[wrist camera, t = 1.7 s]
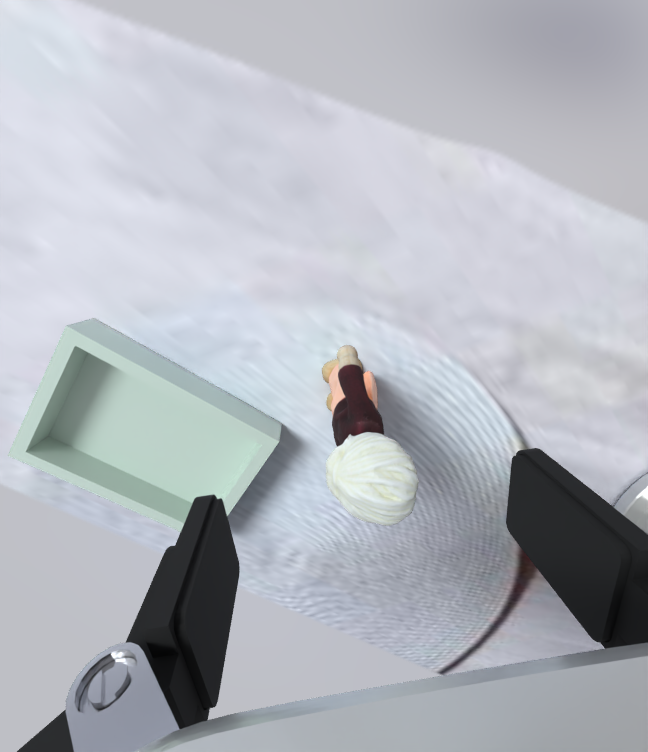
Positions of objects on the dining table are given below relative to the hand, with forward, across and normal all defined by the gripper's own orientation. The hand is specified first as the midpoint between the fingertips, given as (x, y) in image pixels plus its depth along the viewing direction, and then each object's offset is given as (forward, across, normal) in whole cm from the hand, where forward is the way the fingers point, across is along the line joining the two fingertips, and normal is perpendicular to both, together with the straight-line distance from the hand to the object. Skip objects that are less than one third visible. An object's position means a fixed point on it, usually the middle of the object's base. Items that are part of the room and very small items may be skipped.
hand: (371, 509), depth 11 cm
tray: (+13, +12, +2) cm, 18 cm away
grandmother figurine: (+13, -1, 0) cm, 13 cm away
